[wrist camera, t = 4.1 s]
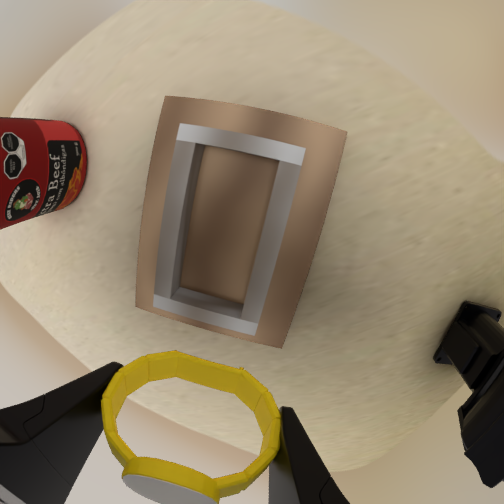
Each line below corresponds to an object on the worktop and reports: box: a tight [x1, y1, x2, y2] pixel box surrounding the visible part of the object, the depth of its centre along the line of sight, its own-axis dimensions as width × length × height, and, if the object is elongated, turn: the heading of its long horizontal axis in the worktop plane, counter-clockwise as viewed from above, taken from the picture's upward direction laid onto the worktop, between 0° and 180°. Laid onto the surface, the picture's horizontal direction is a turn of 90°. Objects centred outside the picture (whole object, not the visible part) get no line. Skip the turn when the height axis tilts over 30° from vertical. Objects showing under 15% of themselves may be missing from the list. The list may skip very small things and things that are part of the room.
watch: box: [101, 350, 281, 504], centre depth 8 cm, size 6×3×6 cm, turn 77°
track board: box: [136, 96, 347, 348], centre depth 17 cm, size 12×16×3 cm
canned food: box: [0, 117, 87, 229], centre depth 13 cm, size 8×8×11 cm
